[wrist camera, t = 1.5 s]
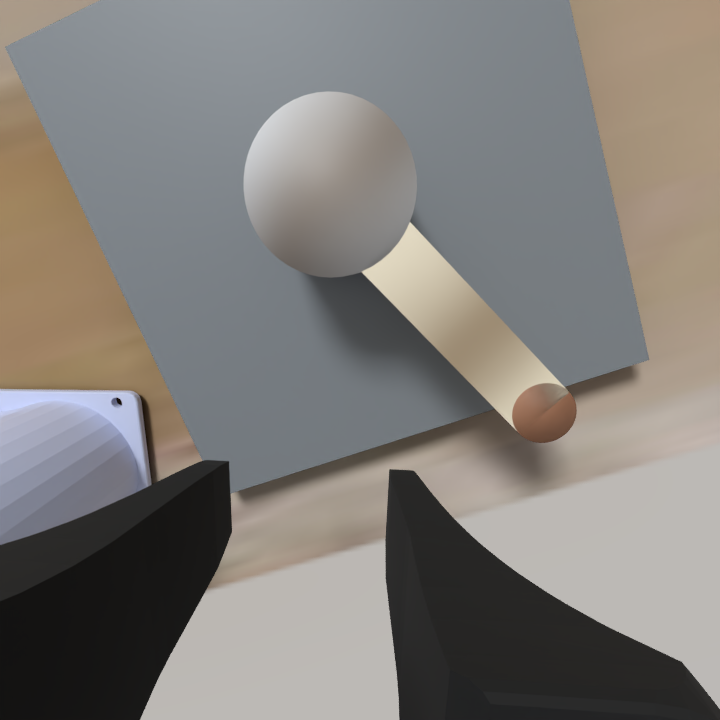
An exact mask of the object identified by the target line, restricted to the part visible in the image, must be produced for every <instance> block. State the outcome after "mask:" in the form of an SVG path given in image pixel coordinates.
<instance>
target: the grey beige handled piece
mask: <svg viewBox="0 0 720 720" xmlns="http://www.w3.org/2000/svg"><path fill="white" fill-rule="evenodd" d="M416 193H417V176H416V169H415V163H414V160H413V156H412V153H411V150H410V148H409V146H408V143H407V141H406V139H405V137H404V136H403V134H402V132H401V131H400V129H399V128H398V127H397V125H396V124H395V123H394V122H393V120H392V119H391V118H390V117H389V116H388V115H387V114H386V113H384V112H383V111H382V110H381V109H379V108H378V107H377V106H375V105H374V104H372V103H370V102H368V101H367V100H365V99H363V98H360V97H357V96H354V95H352V94H347V93H342V92H330V91H327V92H316V93H312V94H308V95H304V96H302V97H299V98H297V99H294V100H292V101H290V102H289V103H287V104H285V105H284V106H282V107H281V108H280V109H278V110H277V111H276V112H275V113H273V115H272V116H271V117H270V118H269V119H268V120H267V121H266V122H265V123H264V125H263V126H262V127H261V129H260V130H259V131H258V133H257V135H256V137H255V139H254V140H253V142H252V145H251V147H250V150H249V152H248V156H247V160H246V164H245V170H244V197H245V204H246V208H247V212H248V215H249V218H250V220H251V223H252V225H253V227H254V229H255V231H256V233H257V235H258V236H259V238H260V239H261V240H262V242H263V243H264V245H265V246H266V247H267V248H268V249H269V250H270V251H271V253H273V254H274V255H275V256H276V257H277V258H278V259H279V260H281V261H282V262H284V263H285V264H287V265H288V266H290V267H292V268H294V269H296V270H298V271H300V272H303V273H306V274H309V275H313V276H318V277H329V278H333V277H344V276H349V275H353V274H357V273H360V272H362V273H363V274H364V275H365V276H366V277H367V278H368V279H369V280H370V281H371V282H372V283H373V284H374V285H375V286H376V287H377V288H378V289H379V290H380V291H381V293H382V294H383V295H384V296H385V297H386V298H387V299H388V300H389V301H390V302H391V303H392V304H393V305H394V306H395V307H396V308H397V309H398V310H399V311H400V312H401V313H402V314H403V315H404V316H405V317H406V318H407V319H408V320H409V321H410V322H411V323H412V324H413V325H414V326H415V327H416V328H417V329H418V330H419V331H420V332H421V333H422V335H423V336H424V337H425V338H426V339H427V340H428V341H429V342H430V343H431V344H432V345H433V346H434V347H435V348H436V349H437V350H438V351H439V352H440V353H441V354H442V355H443V356H444V357H445V358H446V359H447V360H448V361H449V362H450V363H451V364H452V365H453V366H454V367H455V368H456V369H457V370H458V371H459V372H460V373H461V374H462V375H463V376H464V378H465V379H466V380H467V381H468V382H469V383H470V384H471V385H472V386H473V387H474V388H475V389H476V390H477V391H478V392H479V393H480V394H481V395H482V396H483V397H484V398H485V399H486V400H487V401H488V402H489V403H490V404H491V405H492V406H493V407H494V408H495V409H496V410H497V411H498V412H499V413H500V414H501V415H502V416H503V417H504V418H505V420H506V421H507V422H508V423H509V424H510V425H511V426H512V427H513V428H514V429H515V430H516V431H517V432H518V433H519V434H520V435H521V436H522V437H524V438H525V439H527V440H530V441H532V442H537V443H546V442H551V441H554V440H557V439H559V438H560V437H562V436H563V435H565V434H566V433H567V432H568V431H569V430H570V428H571V427H572V425H573V423H574V421H575V418H576V411H577V409H576V403H575V400H574V398H573V396H572V395H571V394H570V392H569V391H568V390H567V389H566V388H565V387H564V386H563V385H562V384H561V383H560V382H559V381H558V380H557V379H556V377H555V376H554V375H553V374H552V373H551V372H550V371H549V370H548V369H547V368H546V367H545V366H544V365H543V364H542V362H541V361H540V360H539V359H538V358H537V357H536V356H535V355H534V354H533V353H532V352H531V351H530V350H529V349H528V348H527V346H526V345H525V344H524V343H523V342H522V341H521V340H520V339H519V338H518V337H517V336H516V335H515V334H514V333H513V331H512V330H511V329H510V328H509V327H508V326H507V325H506V324H505V323H504V322H503V321H502V320H501V319H500V318H499V317H498V315H497V314H496V313H495V312H494V311H493V310H492V309H491V308H490V307H489V306H488V305H487V304H486V303H485V302H484V300H483V299H482V298H481V297H480V296H479V295H478V294H477V293H476V292H475V291H474V290H473V289H472V288H471V287H470V286H469V284H468V283H467V282H466V281H465V280H464V279H463V278H462V277H461V276H460V275H459V274H458V273H457V272H456V271H455V269H454V268H453V267H452V266H451V265H450V264H449V263H448V262H447V261H446V260H445V259H444V258H443V257H442V256H441V254H440V253H439V252H438V251H437V250H436V249H435V248H434V247H433V246H432V245H431V244H430V243H429V242H428V241H427V240H426V238H425V237H424V236H423V235H422V234H421V233H420V232H419V231H418V230H417V229H416V228H415V227H414V226H413V225H412V223H411V222H410V220H411V217H412V214H413V211H414V206H415V202H416Z"/></svg>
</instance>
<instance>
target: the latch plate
mask: <svg viewBox="0 0 720 720" xmlns="http://www.w3.org/2000/svg"><path fill="white" fill-rule="evenodd" d="M5 48H6V50H7V52H8V54H9V56H10V59H11V61H12V63H13V65H14V67H15V69H16V71H17V73H18V75H19V77H20V79H21V82H22V84H23V86H24V88H25V90H26V92H27V94H28V96H29V98H30V100H31V102H32V105H33V107H34V109H35V111H36V113H37V115H38V117H39V119H40V121H41V123H42V125H43V128H44V130H45V132H46V134H47V136H48V138H49V140H50V142H51V144H52V146H53V148H54V151H55V153H56V155H57V157H58V159H59V161H60V163H61V165H62V167H63V169H64V172H65V174H66V176H67V178H68V180H69V182H70V184H71V186H72V188H73V190H74V192H75V195H76V197H77V199H78V201H79V203H80V205H81V207H82V209H83V211H84V213H85V215H86V218H87V220H88V222H89V224H90V226H91V228H92V230H93V232H94V234H95V236H96V238H97V241H98V243H99V245H100V247H101V249H102V251H103V253H104V255H105V257H106V259H107V261H108V264H109V266H110V268H111V270H112V272H113V274H114V276H115V278H116V280H117V282H118V285H119V287H120V289H121V291H122V293H123V295H124V297H125V299H126V301H127V303H128V305H129V308H130V310H131V312H132V314H133V316H134V318H135V320H136V322H137V324H138V326H139V328H140V331H141V333H142V335H143V337H144V339H145V341H146V343H147V345H148V347H149V349H150V351H151V354H152V356H153V358H154V360H155V362H156V364H157V366H158V368H159V370H160V372H161V375H162V377H163V379H164V381H165V383H166V385H167V387H168V389H169V391H170V393H171V395H172V398H173V400H174V402H175V404H176V406H177V408H178V410H179V412H180V414H181V416H182V418H183V421H184V423H185V425H186V427H187V429H188V431H189V433H190V435H191V437H192V439H193V441H194V444H195V446H196V448H197V450H198V452H199V454H200V456H201V458H202V460H203V461H204V460H217V461H229V471H230V493H234V492H237V491H240V490H243V489H246V488H249V487H252V486H255V485H259V484H262V483H265V482H268V481H271V480H274V479H277V478H280V477H284V476H287V475H290V474H293V473H296V472H299V471H302V470H306V469H309V468H312V467H315V466H318V465H321V464H324V463H327V462H331V461H334V460H337V459H340V458H343V457H346V456H349V455H353V454H356V453H359V452H362V451H365V450H368V449H371V448H374V447H378V446H381V445H384V444H387V443H390V442H393V441H396V440H399V439H403V438H406V437H409V436H412V435H415V434H418V433H421V432H425V431H428V430H431V429H434V428H437V427H440V426H443V425H446V424H450V423H453V422H456V421H459V420H462V419H465V418H468V417H472V416H475V415H478V414H481V413H484V412H487V411H490V410H493V409H495V408H494V407H493V406H492V405H491V404H490V403H489V402H488V401H487V400H486V399H485V398H484V397H483V396H482V395H481V394H480V393H479V392H478V391H477V390H476V389H475V388H474V387H473V386H472V385H471V384H470V383H469V382H468V381H467V380H466V379H465V378H464V376H463V375H462V374H461V373H460V372H459V371H458V370H457V369H456V368H455V367H454V366H453V365H452V364H451V363H450V362H449V361H448V360H447V359H446V358H445V357H444V356H443V355H442V354H441V353H440V352H439V351H438V350H437V349H436V348H435V347H434V346H433V345H432V344H431V343H430V342H429V341H428V340H427V339H426V338H425V337H424V336H423V335H422V333H421V332H420V331H419V330H418V329H417V328H416V327H415V326H414V325H413V324H412V323H411V322H410V321H409V320H408V319H407V318H406V317H405V316H404V315H403V314H402V313H401V312H400V311H399V310H398V309H397V308H396V307H395V306H394V305H393V304H392V303H391V302H390V301H389V300H388V299H387V298H386V297H385V296H384V295H383V294H382V293H381V291H380V290H379V289H378V288H377V287H376V286H375V285H374V284H373V283H372V282H371V281H370V280H369V279H368V278H367V277H366V276H365V275H364V274H363V273H362V272H360V273H357V274H353V275H349V276H344V277H333V278H329V277H318V276H313V275H309V274H306V273H303V272H300V271H298V270H296V269H294V268H292V267H290V266H288V265H287V264H285V263H284V262H282V261H281V260H279V259H278V258H277V257H276V256H275V255H274V254H273V253H271V251H270V250H269V249H268V248H267V247H266V246H265V245H264V243H263V242H262V240H261V239H260V238H259V236H258V235H257V233H256V231H255V229H254V227H253V225H252V223H251V220H250V218H249V215H248V212H247V208H246V204H245V197H244V170H245V164H246V160H247V156H248V152H249V150H250V147H251V145H252V142H253V140H254V139H255V137H256V135H257V133H258V131H259V130H260V129H261V127H262V126H263V125H264V123H265V122H266V121H267V120H268V119H269V118H270V117H271V116H272V115H273V113H275V112H276V111H277V110H278V109H280V108H281V107H282V106H284V105H285V104H287V103H289V102H290V101H292V100H294V99H297V98H299V97H302V96H304V95H308V94H312V93H316V92H327V91H330V92H342V93H347V94H352V95H354V96H357V97H360V98H363V99H365V100H367V101H368V102H370V103H372V104H374V105H375V106H377V107H378V108H379V109H381V110H382V111H383V112H384V113H386V114H387V115H388V116H389V117H390V118H391V119H392V120H393V122H394V123H395V124H396V125H397V127H398V128H399V129H400V131H401V132H402V134H403V136H404V137H405V139H406V141H407V143H408V146H409V148H410V150H411V153H412V156H413V160H414V163H415V169H416V176H417V193H416V202H415V206H414V211H413V214H412V217H411V220H410V222H411V223H412V225H413V226H414V227H415V228H416V229H417V230H418V231H419V232H420V233H421V234H422V235H423V236H424V237H425V238H426V240H427V241H428V242H429V243H430V244H431V245H432V246H433V247H434V248H435V249H436V250H437V251H438V252H439V253H440V254H441V256H442V257H443V258H444V259H445V260H446V261H447V262H448V263H449V264H450V265H451V266H452V267H453V268H454V269H455V271H456V272H457V273H458V274H459V275H460V276H461V277H462V278H463V279H464V280H465V281H466V282H467V283H468V284H469V286H470V287H471V288H472V289H473V290H474V291H475V292H476V293H477V294H478V295H479V296H480V297H481V298H482V299H483V300H484V302H485V303H486V304H487V305H488V306H489V307H490V308H491V309H492V310H493V311H494V312H495V313H496V314H497V315H498V317H499V318H500V319H501V320H502V321H503V322H504V323H505V324H506V325H507V326H508V327H509V328H510V329H511V330H512V331H513V333H514V334H515V335H516V336H517V337H518V338H519V339H520V340H521V341H522V342H523V343H524V344H525V345H526V346H527V348H528V349H529V350H530V351H531V352H532V353H533V354H534V355H535V356H536V357H537V358H538V359H539V360H540V361H541V362H542V364H543V365H544V366H545V367H546V368H547V369H548V370H549V371H550V372H551V373H552V374H553V375H554V376H555V377H556V379H557V380H558V381H559V382H560V383H561V384H562V385H563V386H564V387H565V386H569V385H572V384H575V383H578V382H581V381H584V380H587V379H591V378H594V377H597V376H600V375H603V374H606V373H609V372H612V371H616V370H619V369H622V368H625V367H628V366H631V365H634V364H637V363H641V362H644V361H647V360H649V357H648V352H647V348H646V343H645V339H644V334H643V330H642V325H641V321H640V316H639V312H638V307H637V303H636V298H635V294H634V289H633V285H632V280H631V276H630V271H629V267H628V262H627V258H626V253H625V249H624V244H623V240H622V235H621V231H620V226H619V222H618V217H617V213H616V208H615V204H614V199H613V195H612V190H611V186H610V182H609V177H608V173H607V168H606V164H605V159H604V155H603V150H602V146H601V141H600V137H599V132H598V128H597V123H596V119H595V114H594V110H593V105H592V101H591V96H590V92H589V87H588V83H587V78H586V74H585V69H584V65H583V60H582V56H581V51H580V47H579V42H578V38H577V33H576V29H575V24H574V20H573V15H572V11H571V6H570V2H569V0H100V1H98V2H96V3H94V4H92V5H90V6H88V7H85V8H83V9H81V10H79V11H77V12H75V13H73V14H71V15H69V16H67V17H65V18H63V19H61V20H59V21H57V22H55V23H53V24H51V25H49V26H47V27H45V28H43V29H41V30H39V31H37V32H35V33H33V34H30V35H28V36H26V37H24V38H22V39H20V40H18V41H16V42H14V43H12V44H10V45H8V46H6V47H5Z"/></svg>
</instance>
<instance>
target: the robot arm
mask: <svg viewBox="0 0 720 720" xmlns="http://www.w3.org/2000/svg"><path fill="white" fill-rule="evenodd" d="M117 398H119V399H120V400H121V401H122V405H119V404H118V403H117V400H116V399H117ZM231 533H232V522H231V497H230V471H229V461H217V460H204V461H201V462H199V463H196V464H194V465H192V466H189V467H187V468H185V469H183V470H181V471H179V472H177V473H175V474H173V475H171V476H169V477H167V478H165V479H163V480H161V481H159V482H156V483H154V484H151V476H150V467H149V459H148V451H147V443H146V435H145V427H144V419H143V411H142V403H141V399H140V396H139V395H138V394H137V393H135V392H134V391H113V390H31V389H0V720H140V718H141V716H142V713H143V711H144V709H145V706H146V705H147V702H148V700H149V698H150V695H151V693H152V691H153V688H154V686H155V684H156V682H157V680H158V678H159V676H160V674H161V672H162V670H163V668H164V666H165V664H166V662H167V660H168V658H169V656H170V654H171V653H172V651H173V649H174V647H175V645H176V643H177V642H178V640H179V638H180V636H181V634H182V633H183V631H184V629H185V627H186V625H187V623H188V622H189V620H190V618H191V616H192V615H193V613H194V611H195V609H196V607H197V605H198V604H199V602H200V600H201V598H202V596H203V595H204V593H205V591H206V589H207V587H208V585H209V584H210V582H211V580H212V578H213V576H214V574H215V572H216V570H217V569H218V566H219V564H220V561H221V559H222V556H223V554H224V551H225V549H226V546H227V543H228V541H229V538H230V535H231ZM386 583H387V592H388V601H389V610H390V619H391V627H392V635H393V643H394V653H395V661H396V670H397V680H398V693H399V717H400V720H720V709H719V708H718V706H717V705H716V704H715V702H714V701H713V700H712V699H711V697H710V696H709V695H708V694H707V692H706V691H705V690H704V689H703V687H702V686H701V685H700V684H699V682H698V681H697V680H696V679H695V677H694V676H693V675H692V674H691V673H690V671H689V670H688V669H687V668H686V667H685V666H684V664H683V663H682V662H680V661H678V660H676V659H674V658H672V657H670V656H668V655H666V654H663V653H661V652H659V651H657V650H655V649H653V648H650V647H649V646H647V645H644V644H642V643H640V642H638V641H636V640H634V639H632V638H630V637H628V636H625V635H623V634H621V633H619V632H617V631H615V630H613V629H611V628H609V627H607V626H605V625H603V624H601V623H599V622H597V621H596V620H594V619H592V618H590V617H588V616H587V615H585V614H583V613H581V612H579V611H578V610H576V609H574V608H572V607H570V606H568V605H567V604H565V603H564V602H562V601H560V600H558V599H557V598H555V597H553V596H552V595H550V594H549V593H547V592H545V591H544V590H542V589H541V588H539V587H538V586H536V585H535V584H533V583H532V582H530V581H529V580H527V579H526V578H524V577H523V576H521V575H520V574H518V573H517V572H516V571H514V570H513V569H512V568H510V567H509V566H507V565H506V564H505V563H503V562H502V561H501V560H500V559H498V558H497V557H496V556H495V555H493V554H492V553H491V552H489V551H488V550H487V549H486V548H485V547H483V546H482V545H481V544H480V543H479V542H478V541H477V540H475V539H474V538H473V537H472V536H471V535H470V534H469V533H468V532H467V531H466V530H465V529H464V528H463V527H462V526H461V525H460V524H459V523H458V522H457V521H456V520H455V519H454V518H453V517H452V516H451V515H450V514H449V513H448V512H447V511H446V510H445V508H444V507H443V506H442V505H441V504H440V503H439V502H438V500H437V499H436V498H435V497H434V496H433V494H432V493H431V492H430V491H429V489H428V488H427V487H426V485H425V484H424V483H423V482H422V480H421V479H420V478H419V476H418V475H417V474H416V473H415V472H414V471H411V470H391V469H390V470H389V488H388V506H387V524H386Z"/></svg>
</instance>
